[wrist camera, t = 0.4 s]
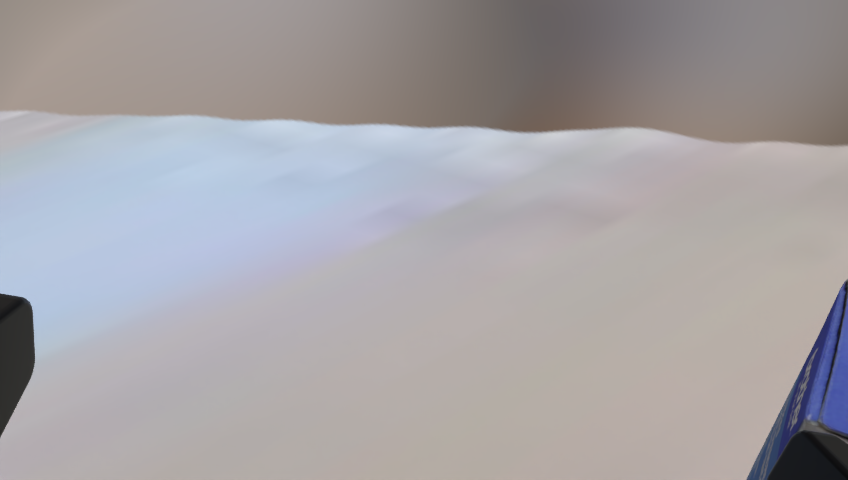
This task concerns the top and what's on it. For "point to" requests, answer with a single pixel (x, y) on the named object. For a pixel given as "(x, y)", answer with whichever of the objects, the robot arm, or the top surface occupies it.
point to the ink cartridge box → (814, 391)
